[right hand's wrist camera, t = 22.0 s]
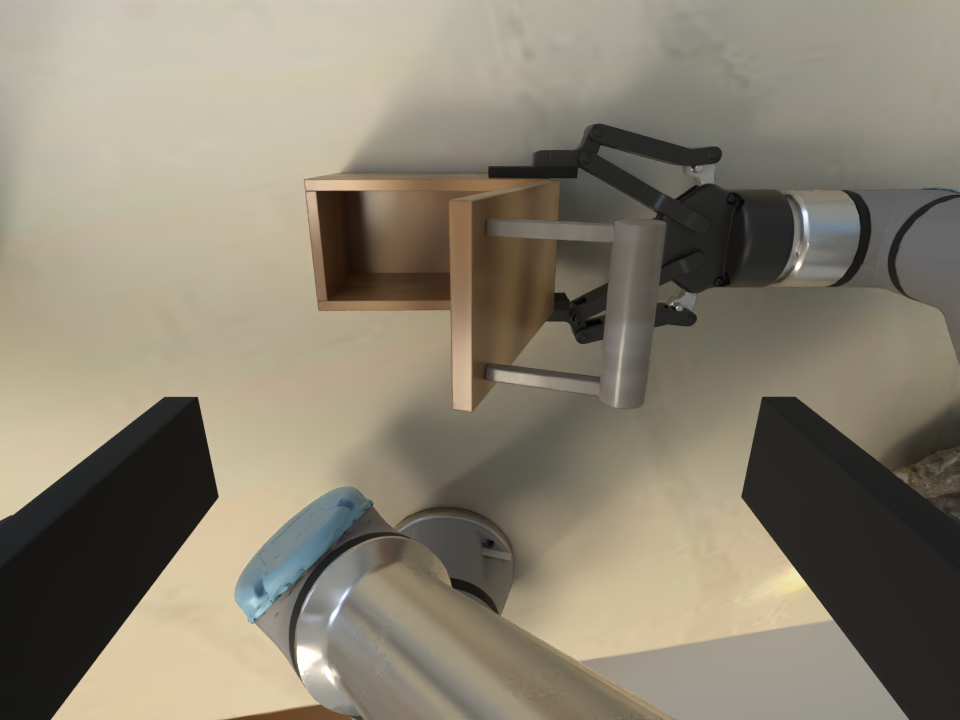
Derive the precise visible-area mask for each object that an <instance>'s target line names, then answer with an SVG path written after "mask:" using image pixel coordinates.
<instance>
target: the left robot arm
mask: <svg viewBox="0 0 960 720" xmlns="http://www.w3.org/2000/svg"><path fill="white" fill-rule="evenodd" d="M600 145H602V146H606V147H609V148H613V149H617V150H620V151H624V152H627V153H631V154H635V155H638V156H642V157H645V158H649V159H653V160H656V161H660V162H663V163H667V164H672V165H681V166H683V171H684V173H685V174H686V175H687V176H692V177H694V178H695V179H696V183H697V185H695V186H693V187H692V188H691V189H689V190H688V191H686V192H685V193H683V194H682V195H680V196H679V197H677V198H676V199H675V200H674V199H672V198H671V197H669V196H667V195H665V194H663V193H661V192H659V191H658V190H656V189H654V188H652V187H651V186H649V185H647V184H646V183H644V182H642V181H641V180H639V179H637V178H636V177H634V176H632V175H630V174H629V173H627V172H625V171H624V170H622V169H620V168H619V167H617V166H615V165H613V164H612V163H610V162H608V161H607V160H605V159H603V158H602V157H600V156H598V155H597V152H598V150H599V148H600ZM721 156H722V151H721V150H720V148H718V147H694V148H685V147H682V146H678V145H675V144H671V143H668V142H664V141H660V140H657V139H653V138H650V137H646V136H643V135H639V134H636V133H632V132H628V131H625V130H621V129H618V128H614V127H611V126H607V125H604V124H594V125H590V126H588V127H587V128H586V129H585V131H584V136H583V138H582V141H581V143H580V145H579V146H578V148H576V149H574V150H539V151H537V152H535V153H533V166H488V177H489V178H577V173H578V168H581V169H583V170H585V171H586V172H588V173H590V174H592V175H593V176H595V177H597V178H598V179H600V180H602V181H604V182H605V183H607V184H609V185H610V186H612V187H614V188H616V189H617V190H619V191H621V192H622V193H624V194H626V195H628V196H629V197H631V198H633V199H635V200H636V201H638V202H640V203H641V204H643V205H644V206H646V207H648V208H649V209H651V210H653V211H654V212H656V213H658V214H657V215H656V218H653V220H660V221H664V222H666V224H667V226H666V234H665V242H664V250H663V258H662V266H661V274H660V282H659V286H660V285H662V284H664V283H666V282H668V281H670V280H672V281H673V282H674V283H675V284H677V285H678V286H679V287H681V288H682V290H681V292H680V294H678V295H676V296H672V297H669V298H668V299H667V301H666V303H657V306H656V314H655V322H654V327H658V326H663V325H667V324H669V325H679V326H692V325H694V324H695V322H696V320H697V317H696V315H695V314H694V313H693V309H694V305H695V301H696V297H697V293H700V292H702V291H704V290H706V289H709V288H713V287H766V286H768V285H770V286H772V287H872V288H881V289H886V290H889V291H892V292H895V293H898V294H901V295H904V296H906V297H908V298H910V299H912V300H915V301H919V302H922V303H925V304H927V305H930V306H933V307H936V308H938V309H939V310H940V311H941V312H942V313H943V315H944V317H945V321H946V324H947V327H948V330H949V334H950V337H951V340H952V343H953V346H954V349H955V353H956V356H957V359H958V362H959V365H960V190H958V189H942V188H923V189H921V190H867V191H848V190H784V191H782V192H779V191H777V190H725V189H722V188H720V187H719V186H717V185H715V184H714V177H715V163H717V162H718V161H719V160H720V159H721ZM607 293H608V283H606V284H604V285H602V286H600V287H598V288H596V289H594V290H592V291H590V292H588V293H586V294H584V295H582V296H580V297H578V298H576V299H574V300H572V301H569V299H568V298H567V296H566V294H565V293H554V308H553V313H552V314H551V315H550V317H549V318H548V319H547V320H546V321H564V322H568V323H569V324H570V326H571V330H572V332H573V334H574V336H575V338H576V340H577V342H578V343H580V344H586V343H590V342H594V341H599V340H603V337H604V326H605V315H603V316H599V317H595V318H590V317H592V316H594V315H596V314H598V313H600V312H602V311H604V310H606V304H607ZM588 318H590V319H588ZM372 505H373V502H372V501H371V500H368V499H367V498H366V497H365V496H364V495H363V494H362V493H361V492H360V491H358V490H357V489H356V488H353V487H340V488H337V489H335V490H332V491H330V492H328V493H326V494H325V495H323V496H321V497H320V498H318V499H317V500H315V501H314V502H312V503H311V504H309V505H308V506H307V507H305V508H304V509H303V510H301V511H300V512H299V513H298V514H296V515H295V516H294V517H293V518H292V519H290V520H289V521H288V522H287V523H286V524H285V525H284V526H283V527H281V528H280V529H279V530H278V531H277V532H276V533H275V534H274V535H273V536H272V537H271V538H270V539H269V540H268V541H267V542H266V543H265V544H264V545H263V546H262V548H261V549H260V550H259V551H258V552H257V553H256V554H255V556H254V557H253V558H252V560H251V561H250V562H249V563H248V565H247V566H246V567H245V569H244V570H243V572H242V574H241V575H240V577H239V579H238V581H237V584H236V587H235V600H236V603H237V604H238V606H239V607H240V608H241V609H242V611H243V612H244V613H245V614H246V615H247V616H248V622H249V623H251V624H253V623H255V624H256V625H257V626H258V627H259V628H260V629H261V630H262V631H263V632H264V633H265V634H266V635H267V636H268V637H269V638H270V639H271V640H272V641H273V642H274V643H275V645H276V646H277V647H278V648H279V649H280V650H281V652H282V653H283V654H284V655H285V657H286V658H287V660H288V661H289V663H290V664H291V666H292V667H293V669H294V671H295V672H296V674H297V675H298V677H299V678H300V680H301V681H302V683H303V684H304V686H305V687H306V689H307V690H308V692H309V693H310V694H311V695H312V697H313V698H314V699H315V700H316V701H317V702H319V703H320V704H321V705H322V706H324V707H326V708H328V709H330V710H331V711H334V712H337V713H341V714H346V715H349V716H350V717H351V718H352V719H353V720H677V719H676V718H674V717H672V716H670V715H669V714H667V713H665V712H664V711H662V710H660V709H658V708H657V707H655V706H653V705H652V704H650V703H648V702H647V701H645V700H643V699H641V698H640V697H638V696H636V695H635V694H633V693H631V692H630V691H628V690H626V689H624V688H623V687H621V686H619V685H618V684H616V683H614V682H612V681H611V680H609V679H607V678H606V677H604V676H602V675H601V674H599V673H597V672H595V671H594V670H592V669H590V668H589V667H587V666H585V665H583V664H582V663H580V662H578V661H577V660H575V659H573V658H572V657H570V656H568V655H566V654H565V653H563V652H561V651H560V650H558V649H556V648H555V647H553V646H551V645H549V644H548V643H546V642H544V641H543V640H541V639H539V638H537V637H536V636H534V635H532V634H531V633H529V632H527V631H526V630H524V629H522V628H520V627H519V626H517V625H515V624H514V623H512V622H510V621H509V620H507V619H505V618H503V617H502V616H501V614H502V611H503V608H504V606H505V603H506V600H507V597H508V595H509V592H510V589H511V586H512V582H513V577H514V565H513V555H512V550H511V547H510V544H509V542H508V540H507V539H506V537H505V536H504V534H503V533H502V532H501V530H500V529H499V528H498V527H497V526H495V525H494V524H493V523H492V522H490V521H489V520H487V519H486V518H484V517H482V516H480V515H478V514H475V513H473V512H470V511H466V510H462V509H455V508H436V509H430V510H426V511H422V512H419V513H417V514H414V515H412V516H410V517H408V518H407V519H405V520H403V521H402V522H401V523H400V524H398V525H397V526H396V527H395V528H394V529H393V528H392V527H391V526H390V525H389V524H388V523H386V521H385V520H384V519H383V518H382V517H381V516H380V515H379V513H378V512H377V511H376V510H375V509H374V507H373V506H372Z"/></svg>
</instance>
